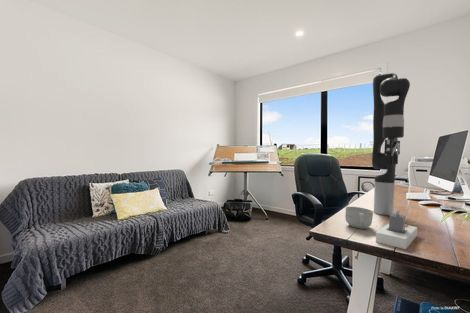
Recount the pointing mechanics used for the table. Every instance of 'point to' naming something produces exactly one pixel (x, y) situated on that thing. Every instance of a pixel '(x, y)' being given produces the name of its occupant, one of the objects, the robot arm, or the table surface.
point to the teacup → (359, 217)
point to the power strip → (396, 236)
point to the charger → (397, 223)
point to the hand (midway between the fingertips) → (392, 164)
